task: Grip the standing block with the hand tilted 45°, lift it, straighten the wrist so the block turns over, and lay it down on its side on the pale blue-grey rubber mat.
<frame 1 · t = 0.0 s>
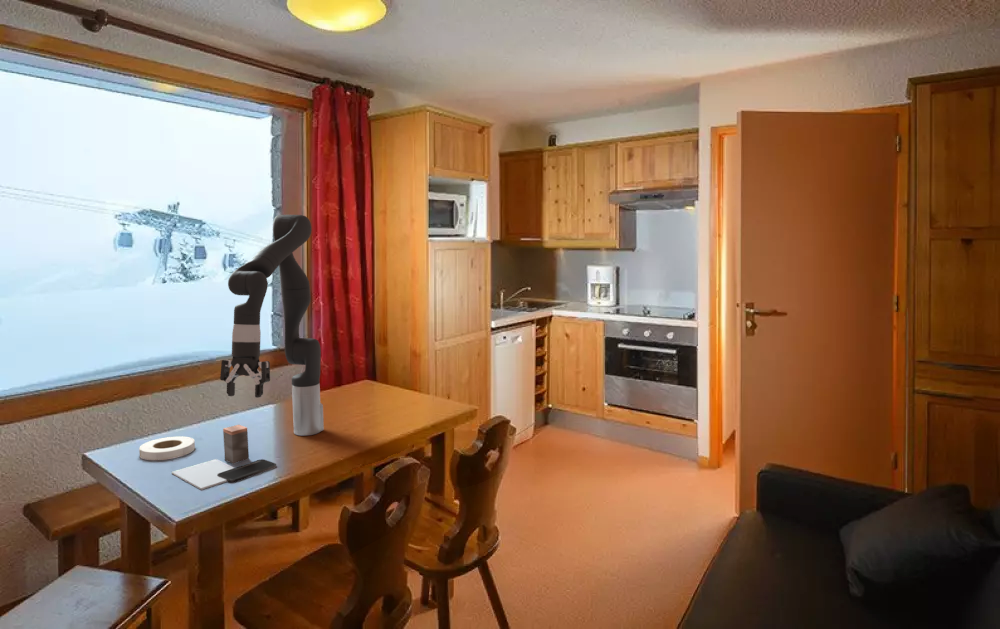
hand: (244, 396, 174), 22 cm above the table, tool pointing down, fingers open, 8 cm apart
block: (236, 459, 185), on the table
roll of tape: (167, 453, 192), on the table
mat: (209, 474, 174), on the table
phone: (247, 473, 176), on the table
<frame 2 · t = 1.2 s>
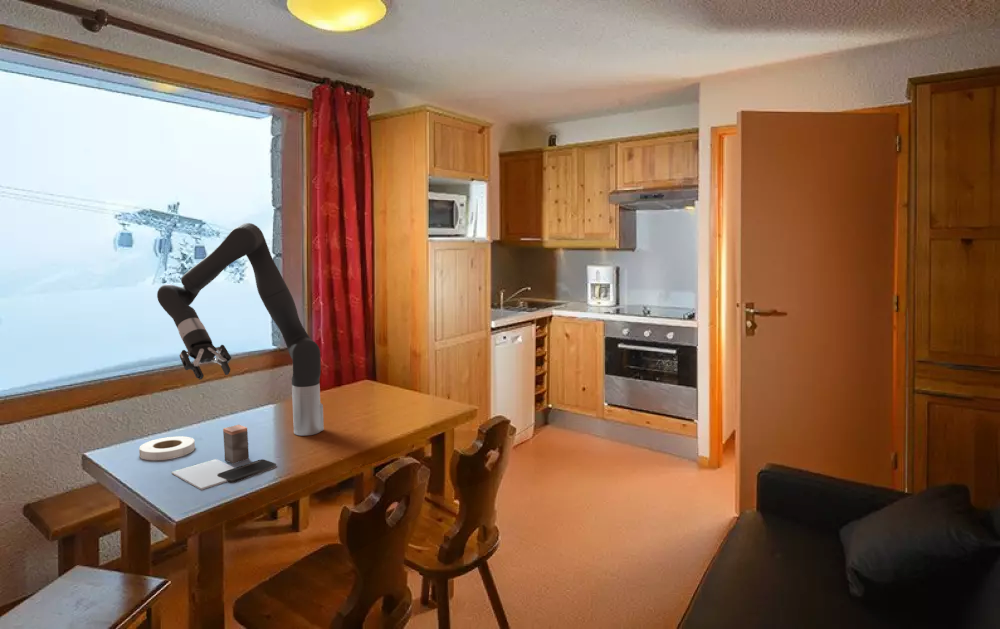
hand: (215, 375, 189), 25 cm above the table, tool tilted 45°, fingers open, 8 cm apart
nothing on the table moved.
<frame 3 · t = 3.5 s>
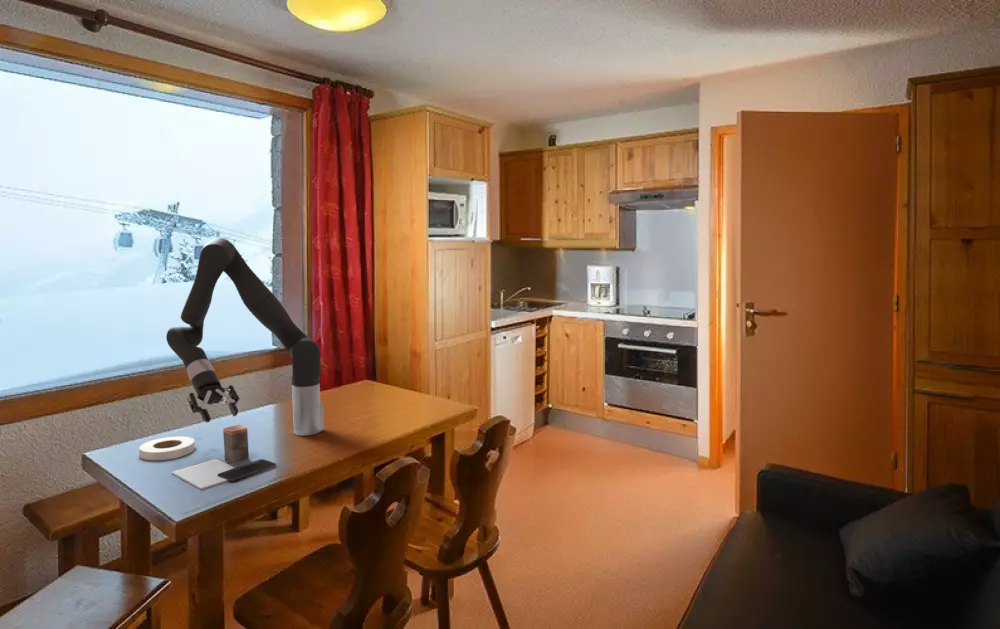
hand: (222, 417, 189), 12 cm above the table, tool tilted 45°, fingers open, 8 cm apart
nothing on the table moved.
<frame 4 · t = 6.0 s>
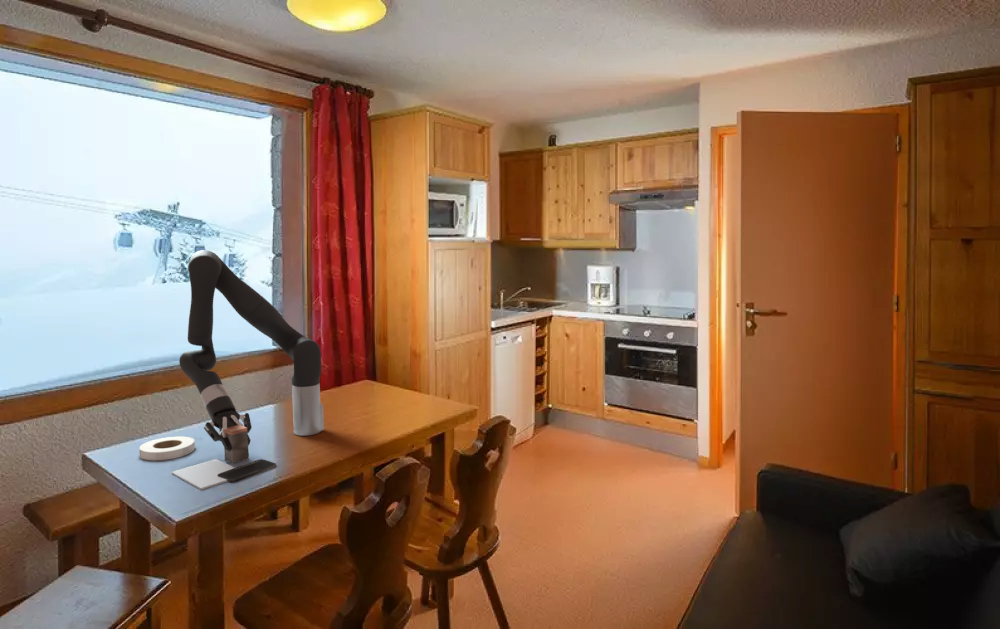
hand: (239, 447, 184), 4 cm above the table, tool tilted 45°, fingers closed on block, 5 cm apart
block: (236, 459, 185), on the table, touching gripper
everything else where it was.
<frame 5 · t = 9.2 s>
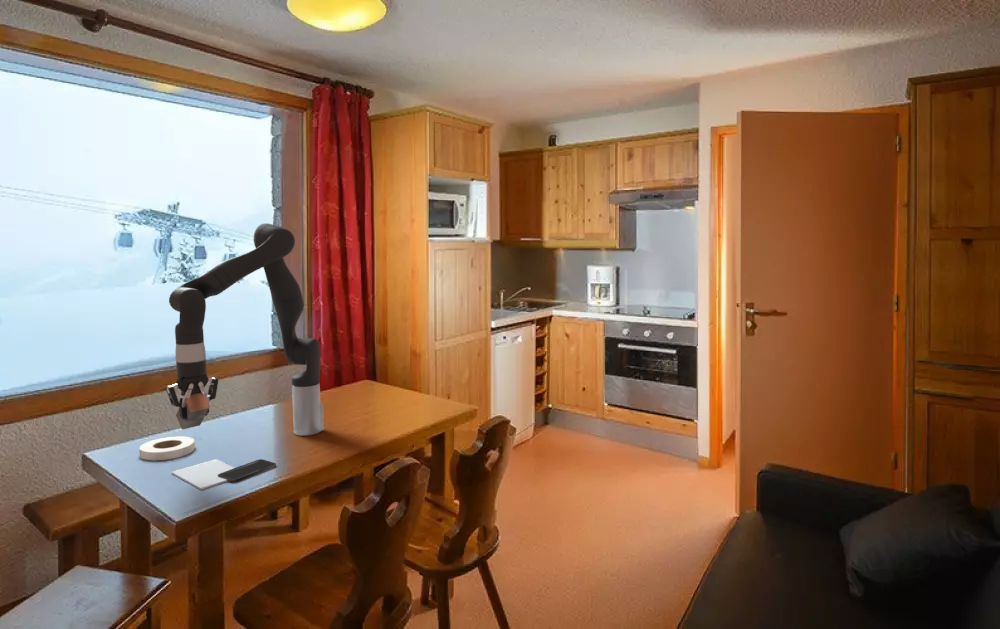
hand: (194, 417, 171), 17 cm above the table, tool pointing down, fingers closed on block, 5 cm apart
block: (188, 420, 174), point 15 cm above the table, tilted 45°, touching gripper
everything else where it was.
when the fingers open (6 cm above the table, at t = 11.3 s): block moves 2 cm and tips over, resting on mat.
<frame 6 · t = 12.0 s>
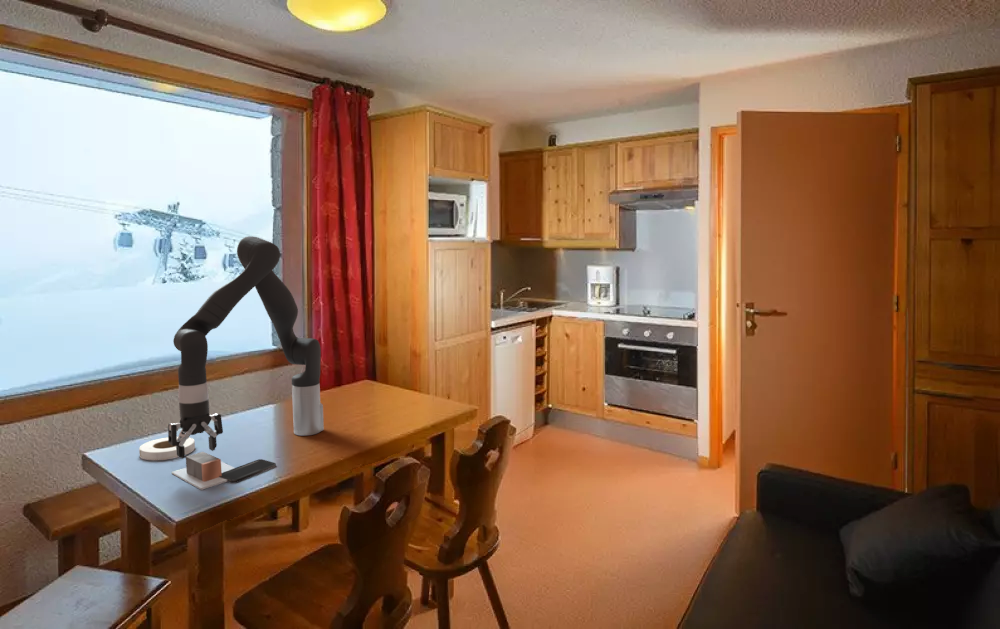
hand: (197, 453, 173), 6 cm above the table, tool pointing down, fingers open, 8 cm apart
block: (194, 462, 175), point 3 cm above the table, tilted 90°, touching mat
everything else where it was.
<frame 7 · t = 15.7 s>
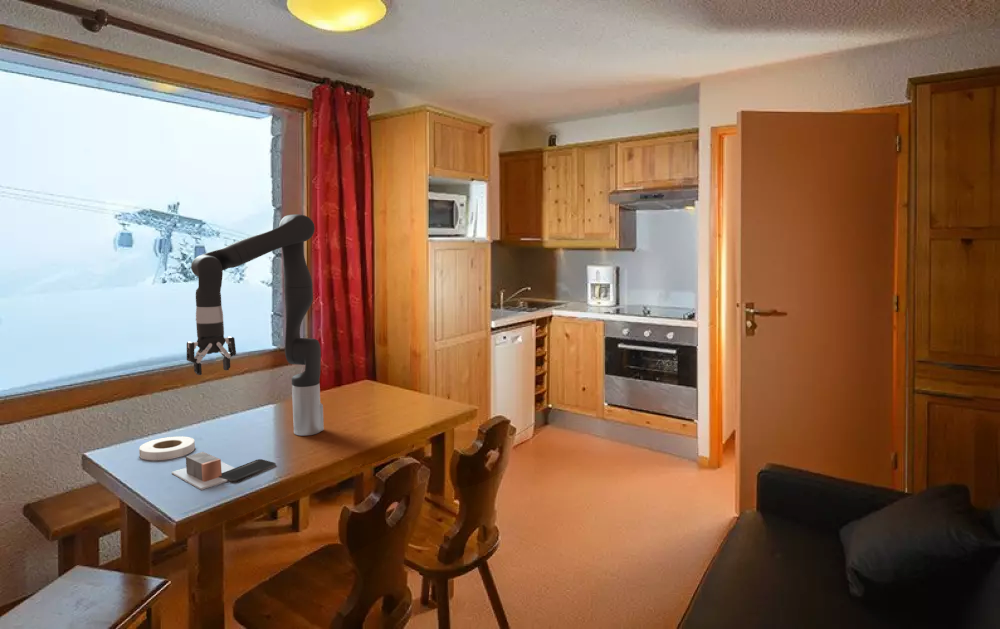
hand: (212, 372, 187), 26 cm above the table, tool pointing down, fingers open, 8 cm apart
nothing on the table moved.
at the end: block tilted 90°; block inside the target area on the mat (4.9 cm from its centre), point 3.0 cm above the mat's base; the gripper is holding nothing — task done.
